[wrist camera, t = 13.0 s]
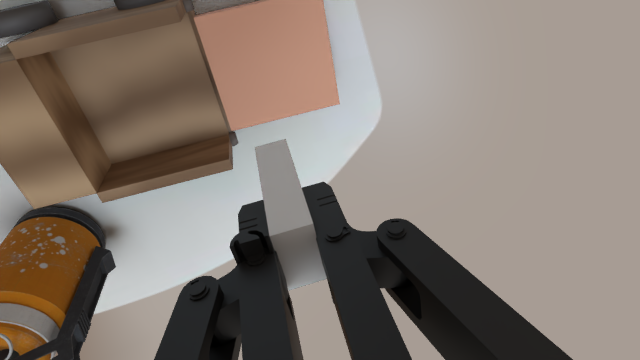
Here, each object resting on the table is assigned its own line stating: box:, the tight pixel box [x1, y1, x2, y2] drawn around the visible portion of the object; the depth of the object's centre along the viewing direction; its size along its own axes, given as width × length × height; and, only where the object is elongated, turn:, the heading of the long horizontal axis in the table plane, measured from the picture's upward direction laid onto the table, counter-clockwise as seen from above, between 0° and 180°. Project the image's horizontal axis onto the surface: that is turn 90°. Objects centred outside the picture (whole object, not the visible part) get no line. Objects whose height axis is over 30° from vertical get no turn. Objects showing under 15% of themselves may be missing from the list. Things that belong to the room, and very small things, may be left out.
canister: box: [0, 207, 116, 360], centre depth 36 cm, size 9×11×20 cm
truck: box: [0, 0, 238, 209], centre depth 33 cm, size 16×17×10 cm
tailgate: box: [194, 0, 340, 131], centre depth 34 cm, size 10×2×10 cm
